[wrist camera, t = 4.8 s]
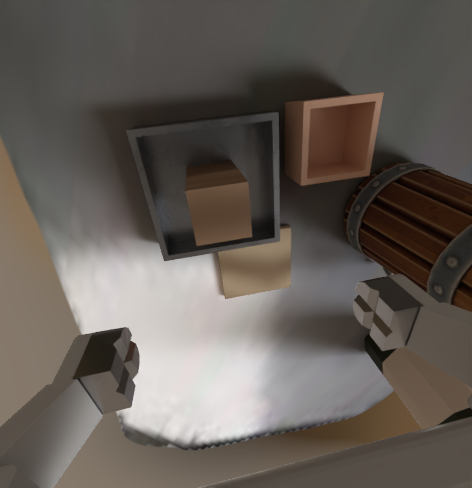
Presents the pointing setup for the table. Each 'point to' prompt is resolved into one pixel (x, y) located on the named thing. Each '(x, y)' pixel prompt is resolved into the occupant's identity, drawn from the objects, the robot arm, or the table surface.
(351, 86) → the table surface
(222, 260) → the light wooden board
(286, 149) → the terracotta pot
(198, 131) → the tin
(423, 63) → the table surface
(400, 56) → the table surface
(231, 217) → the walnut block
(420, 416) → the wine bottle
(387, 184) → the mug
